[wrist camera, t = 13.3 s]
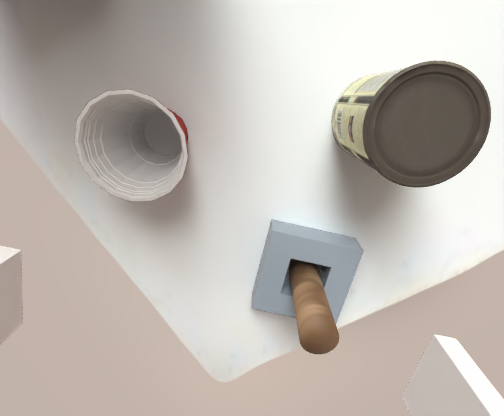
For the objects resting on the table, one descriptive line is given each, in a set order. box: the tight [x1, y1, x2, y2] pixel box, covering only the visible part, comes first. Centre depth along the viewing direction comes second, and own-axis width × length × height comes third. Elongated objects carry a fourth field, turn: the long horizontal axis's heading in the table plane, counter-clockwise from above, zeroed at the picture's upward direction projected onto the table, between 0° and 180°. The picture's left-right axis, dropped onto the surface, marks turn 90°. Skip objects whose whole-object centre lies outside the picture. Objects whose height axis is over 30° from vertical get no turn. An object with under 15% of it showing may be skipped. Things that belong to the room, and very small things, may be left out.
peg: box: [288, 259, 339, 354], centre depth 40 cm, size 4×4×15 cm
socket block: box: [252, 220, 363, 324], centre depth 46 cm, size 12×12×4 cm
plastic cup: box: [74, 89, 188, 202], centre depth 36 cm, size 11×11×12 cm
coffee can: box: [332, 61, 491, 187], centre depth 34 cm, size 10×10×14 cm
